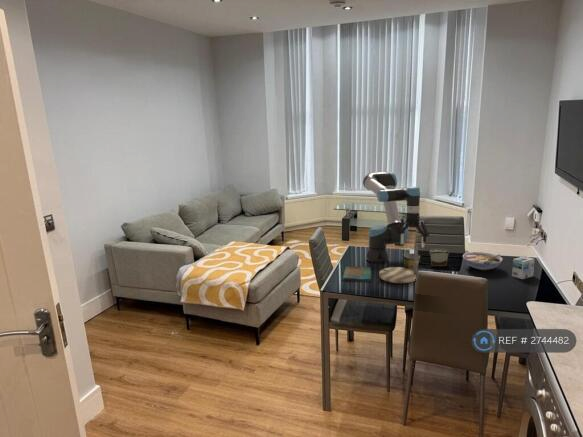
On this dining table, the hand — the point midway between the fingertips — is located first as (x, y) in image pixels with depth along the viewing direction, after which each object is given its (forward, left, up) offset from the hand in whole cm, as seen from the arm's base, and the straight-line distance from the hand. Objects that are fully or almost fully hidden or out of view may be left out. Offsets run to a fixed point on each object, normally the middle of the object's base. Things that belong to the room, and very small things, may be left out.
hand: (412, 245), depth 249 cm
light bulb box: (+57, +26, -17) cm, 65 cm away
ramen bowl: (+34, +27, -17) cm, 46 cm away
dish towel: (-24, -26, -17) cm, 39 cm away
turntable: (0, -19, -15) cm, 24 cm away
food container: (+9, +20, -17) cm, 28 cm away
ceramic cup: (0, 0, -17) cm, 17 cm away
